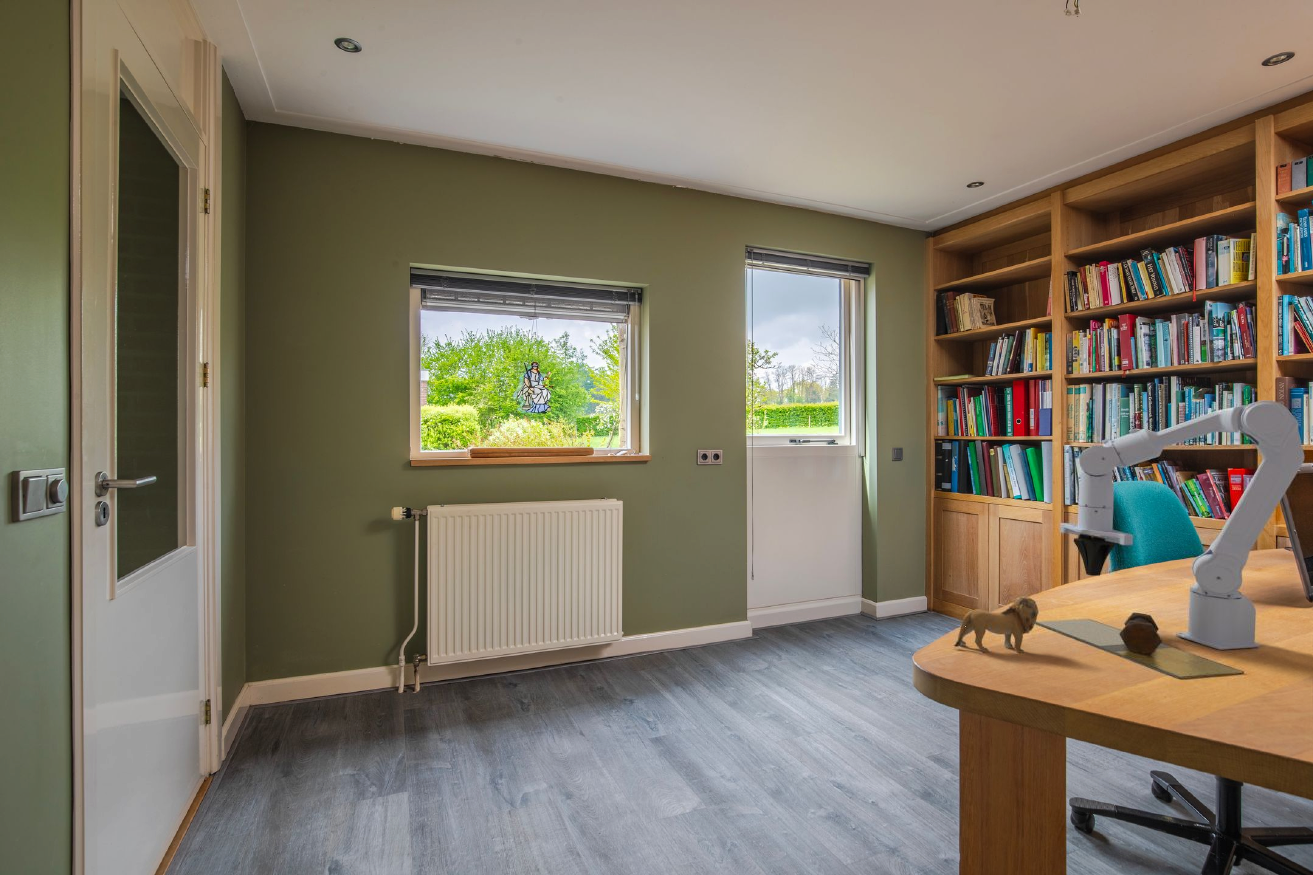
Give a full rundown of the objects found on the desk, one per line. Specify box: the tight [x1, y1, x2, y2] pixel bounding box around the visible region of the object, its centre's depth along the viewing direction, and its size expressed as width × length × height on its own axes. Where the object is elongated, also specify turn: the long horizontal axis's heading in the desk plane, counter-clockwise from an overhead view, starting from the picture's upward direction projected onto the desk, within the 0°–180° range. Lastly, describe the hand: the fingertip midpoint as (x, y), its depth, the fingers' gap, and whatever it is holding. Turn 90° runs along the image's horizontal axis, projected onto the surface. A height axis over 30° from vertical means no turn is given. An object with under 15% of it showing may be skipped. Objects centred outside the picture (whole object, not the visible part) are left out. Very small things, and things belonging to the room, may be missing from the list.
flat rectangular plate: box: [1034, 618, 1245, 680], centre depth 115 cm, size 13×28×1 cm, turn 13°
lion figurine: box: [953, 595, 1039, 654], centre depth 112 cm, size 15×5×9 cm, turn 96°
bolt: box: [1119, 612, 1163, 655], centre depth 116 cm, size 6×5×15 cm
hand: (1093, 574), depth 129 cm, fingers closed
